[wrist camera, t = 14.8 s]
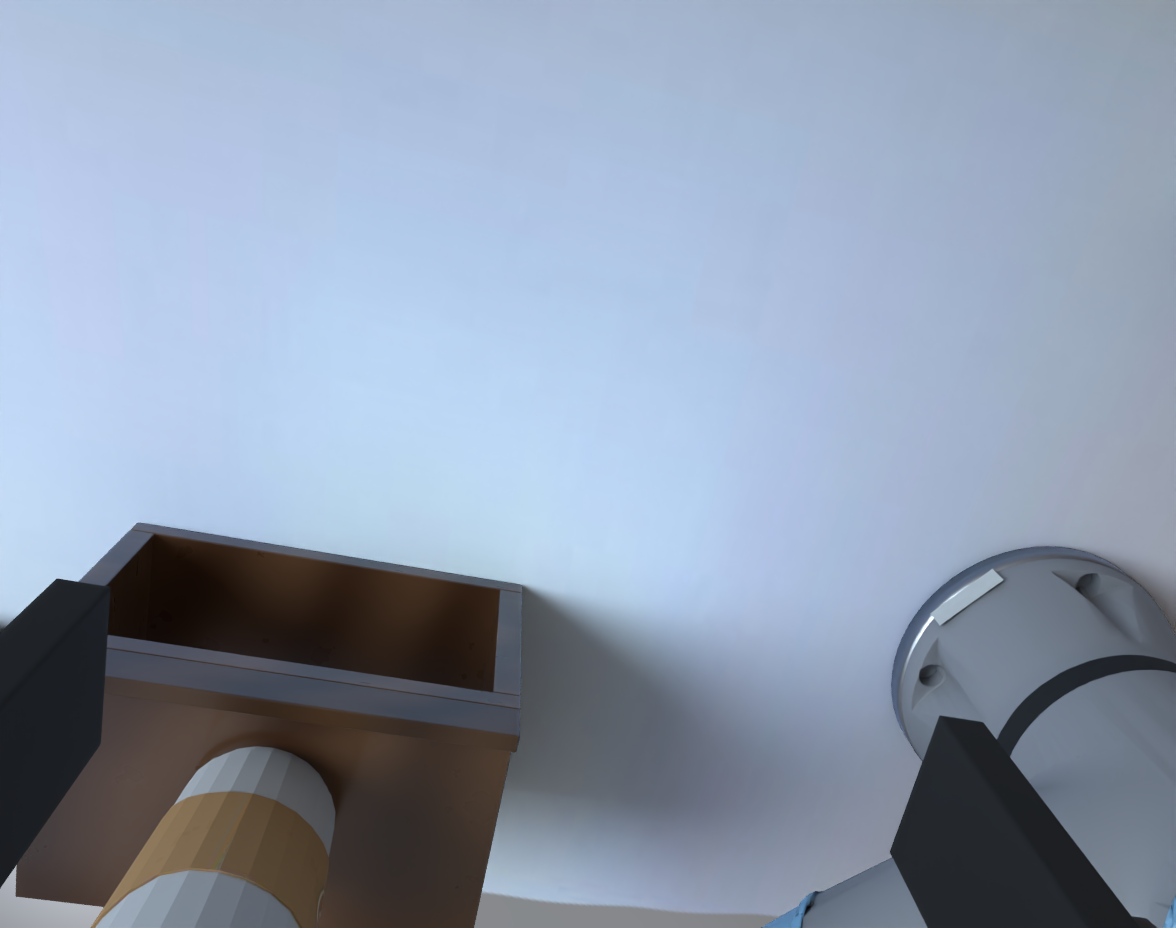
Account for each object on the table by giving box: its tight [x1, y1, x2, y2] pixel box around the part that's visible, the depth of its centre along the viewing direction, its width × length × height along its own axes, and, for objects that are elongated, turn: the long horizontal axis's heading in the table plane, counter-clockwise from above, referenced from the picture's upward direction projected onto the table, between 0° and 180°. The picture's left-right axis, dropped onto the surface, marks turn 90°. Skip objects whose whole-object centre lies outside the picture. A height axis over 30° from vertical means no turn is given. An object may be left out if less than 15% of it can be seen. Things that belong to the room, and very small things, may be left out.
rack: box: [16, 523, 522, 928], centre depth 47 cm, size 20×13×14 cm, turn 78°
